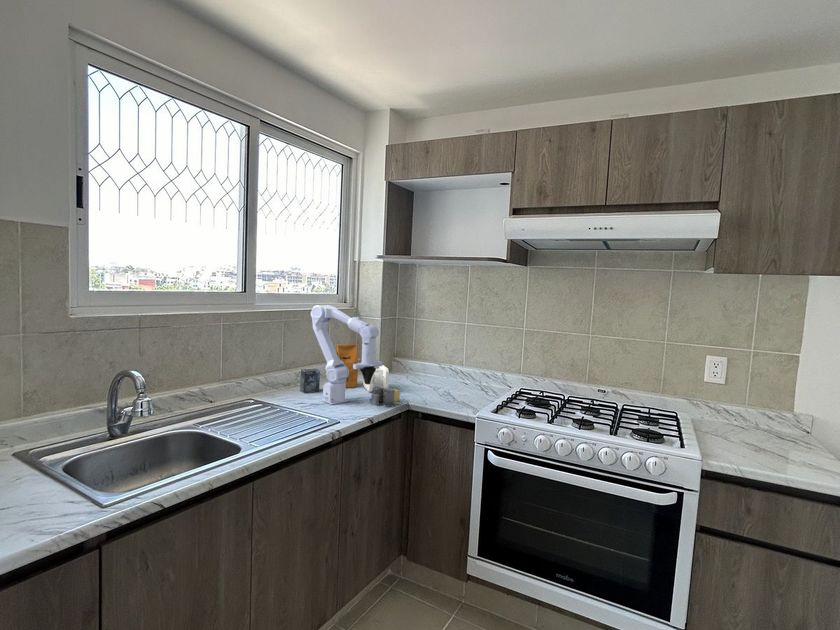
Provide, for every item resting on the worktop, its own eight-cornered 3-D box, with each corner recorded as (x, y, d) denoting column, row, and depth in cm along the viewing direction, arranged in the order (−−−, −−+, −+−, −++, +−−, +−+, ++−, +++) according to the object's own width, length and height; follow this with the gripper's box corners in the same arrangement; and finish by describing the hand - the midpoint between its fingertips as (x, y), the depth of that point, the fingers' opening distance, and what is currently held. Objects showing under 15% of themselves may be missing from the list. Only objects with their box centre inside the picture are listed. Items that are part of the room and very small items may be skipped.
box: (303, 393, 212) (304, 371, 211) (299, 390, 216) (300, 369, 216) (319, 391, 216) (320, 370, 216) (315, 389, 221) (315, 368, 220)
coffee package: (329, 384, 232) (331, 342, 230) (352, 383, 238) (354, 342, 236) (335, 389, 223) (337, 345, 221) (359, 387, 229) (360, 345, 227)
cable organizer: (388, 392, 221) (389, 369, 220) (367, 393, 218) (368, 370, 217) (381, 385, 235) (382, 364, 234) (361, 386, 232) (362, 364, 231)
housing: (388, 407, 195) (389, 392, 195) (369, 400, 205) (370, 386, 205) (397, 405, 199) (398, 391, 198) (378, 398, 209) (378, 385, 208)
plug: (375, 405, 197) (375, 394, 196) (370, 404, 199) (371, 392, 199) (399, 401, 206) (399, 390, 206) (394, 399, 209) (395, 388, 209)
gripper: (360, 355, 186) (359, 387, 187) (387, 353, 196) (386, 383, 197) (350, 353, 191) (349, 384, 192) (377, 350, 201) (376, 380, 202)
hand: (367, 383), depth 195 cm, fingers closed
